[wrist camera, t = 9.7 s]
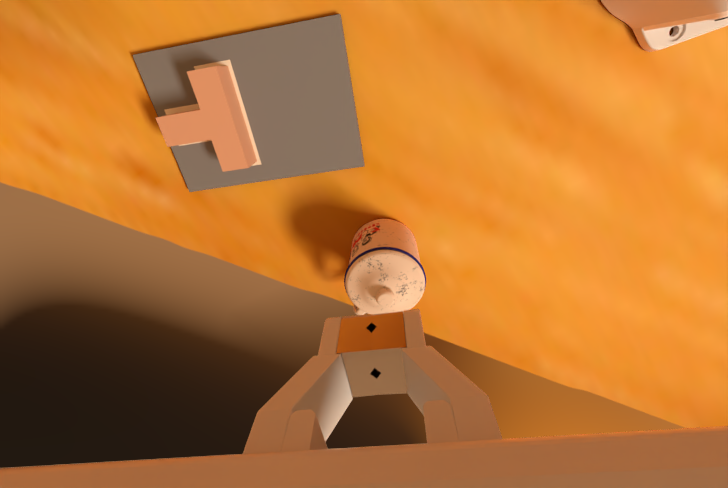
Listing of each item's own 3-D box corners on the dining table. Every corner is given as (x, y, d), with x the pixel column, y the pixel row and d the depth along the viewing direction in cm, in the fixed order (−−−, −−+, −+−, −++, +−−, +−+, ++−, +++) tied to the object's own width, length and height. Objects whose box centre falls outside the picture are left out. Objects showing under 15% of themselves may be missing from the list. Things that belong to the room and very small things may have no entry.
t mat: (340, 14, 33) (340, 13, 32) (364, 164, 40) (364, 166, 39) (136, 55, 35) (132, 54, 35) (192, 190, 42) (189, 191, 41)
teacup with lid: (369, 203, 42) (366, 248, 32) (431, 234, 44) (447, 286, 33) (330, 274, 47) (316, 332, 37) (386, 299, 49) (388, 361, 38)
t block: (227, 66, 35) (215, 66, 32) (257, 161, 39) (248, 167, 37) (157, 79, 36) (139, 80, 33) (194, 170, 40) (181, 178, 37)
